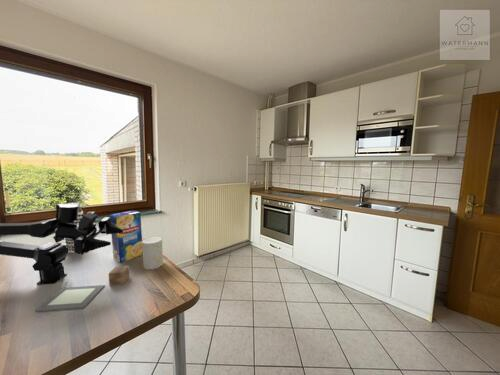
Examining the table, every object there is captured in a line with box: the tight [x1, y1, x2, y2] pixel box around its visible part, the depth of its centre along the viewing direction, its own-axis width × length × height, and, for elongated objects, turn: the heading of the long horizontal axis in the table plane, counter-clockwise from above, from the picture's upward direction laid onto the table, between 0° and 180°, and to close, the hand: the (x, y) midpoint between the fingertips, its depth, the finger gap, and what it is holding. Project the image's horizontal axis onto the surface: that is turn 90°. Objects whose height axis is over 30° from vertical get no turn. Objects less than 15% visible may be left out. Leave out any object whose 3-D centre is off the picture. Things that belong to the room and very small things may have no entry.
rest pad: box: [34, 284, 106, 313], centre depth 72 cm, size 14×12×1 cm
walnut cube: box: [108, 265, 130, 286], centre depth 82 cm, size 5×5×5 cm
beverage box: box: [109, 210, 143, 263], centre depth 102 cm, size 7×11×22 cm, turn 145°
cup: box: [142, 236, 164, 270], centre depth 95 cm, size 8×8×12 cm
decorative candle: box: [64, 202, 85, 254], centre depth 110 cm, size 9×9×25 cm
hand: (116, 237), depth 84 cm, fingers open, 9 cm apart
